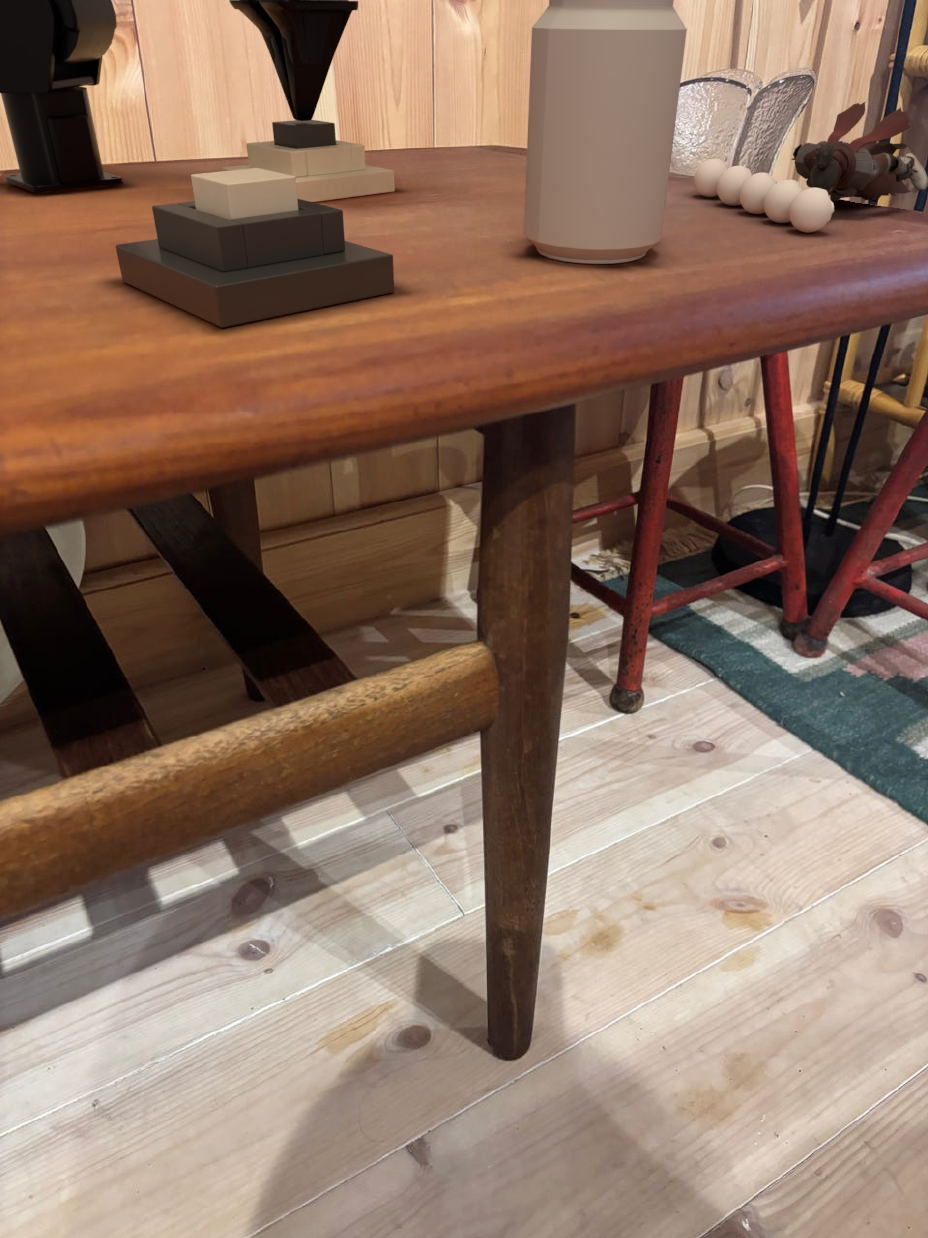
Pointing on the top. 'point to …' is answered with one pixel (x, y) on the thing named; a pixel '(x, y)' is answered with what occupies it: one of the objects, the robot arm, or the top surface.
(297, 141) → the black key
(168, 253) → the dark grey stepped block
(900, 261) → the top surface
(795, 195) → the spheres
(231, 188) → the beige square block
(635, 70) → the can
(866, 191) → the action figure
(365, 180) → the beige stepped base
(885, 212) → the top surface
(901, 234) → the top surface
